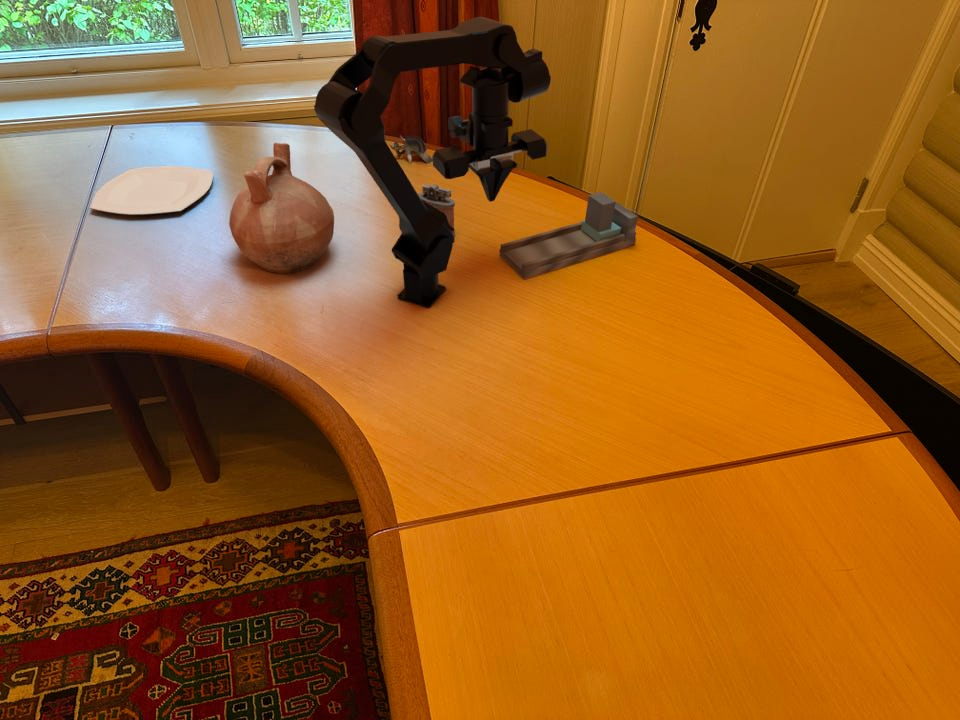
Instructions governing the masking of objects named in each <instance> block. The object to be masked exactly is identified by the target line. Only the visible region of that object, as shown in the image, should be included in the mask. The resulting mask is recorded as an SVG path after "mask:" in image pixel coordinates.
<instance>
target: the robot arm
mask: <svg viewBox="0 0 960 720" xmlns="http://www.w3.org/2000/svg"><path fill="white" fill-rule="evenodd" d="M514 29H515V28H514V26H512V25H509V24H507V23H503V22H500V21H496V20H494V19H490V18H488V17H484V16H476V17H473V18H470V19H467V20H465V21H462V22H460V23H459V24H458V25H457V26H456V27H454V28H451V29H449V30H448V29H447V30H440V31H439V30H437V31H428V32H419V33H418V32H417V33H409V34H408V33H406V34H398V35H387V36H380V35H373V36H370V37H367V39H366V40H364V42H363V43H362V44H361V46H360V48H359V49H358V51H357V52H356V53H355V54H354V55H352V56H351V57H350V58H349V59H347V61H345V62H344V63H343V64H341V65H340V66H339V67H338V68H337V69H336V70H335V71H334V73H333V74H332V75H331V77H330V79H329V80H328V82H327V83H325V84H324V85H323V86H321V88H320V89H319V90H318V92H317V95H316V96H315V101H314V102H315V104H314V106H313V107H314V112H315V115H316V116H317V118H318V120H319V121H320V122H321V123H322V124H323V125H324V126H325V127H327V129H328V130H329V131H330V132H332V134H333V135H335V136H336V137H337V138H338V139H339V140H340V141H341V142H343V143H344V144H345V145H346V146H348V147H349V149H351V151H352V152H354V154H356V156H357V157H358V159H359V160H360V162H361V164H363V166H364V168H365V169H366V171H367V172H368V174H369V175H370V177H371V178H372V179H373V181H374V182H375V184H376V185H377V186H378V188H379V190H380V191H381V193H382V194H383V196H385V197H384V198H385V199H386V201H388V203H389V204H390V206H391V207H392V210H394V212H395V213H396V214H397V216H398V219H399V220H398V221H399V222H398V227H399V230H400V232H401V234H400V235H399V237H398V239H397V240H396V241H395V243H394V245H393V246H392V248H391V253H392V254H393V256H394V258H395V259H396V260H398V261H400V262H401V263H402V264H403V270H402V276H403V277H402V279H403V287H404V288H403V289H402V290H401V291H400V292H399V293H398V294H397V295H396V296H397V299H399V300H401V301H405V302H408V303H411V304H414V305H416V306H417V305H418V306H421V307H424V308H427V309H429V308H431V307H432V305H434V304H435V302H436V301H438V300H439V298H440V297H441V296H442V295H443V294H444V293H445V291H447V287H446V286H445V285H443V284H439V274H440V273H442V272H444V271H446V270H447V269H448V264H449V261H450V257H451V254H452V250H453V247H454V243H455V242H456V241H455V237H454V235H453V233H452V231H455V230H456V229H455V227H454V228H453V227H451V226H450V224H449V222H448V219H447V217H446V215H445V214H444V213H443V212H442V211H440V210H438V209H437V208H435V207H433V206H432V205H430V204H429V203H427V202H425V201H424V200H421V199H420V197H419V195H418V194H419V193H418V192H417V191H416V188H415V187H414V185H413V184H412V182H411V181H410V180H409V178H408V176H407V175H406V173H405V171H404V169H403V167H402V166H401V164H400V163H399V161H398V160H397V158H396V156H395V154H394V153H393V151H392V150H391V147H389V145H388V144H387V143H388V142H386V136H385V134H386V133H385V124H384V123H385V122H384V121H383V118H382V114H383V113H384V111H385V110H386V109H387V107H388V106H389V104H390V101H391V97H392V93H393V89H394V85H395V82H396V79H397V78H398V76H399V75H400V74H401V73H405V72H410V71H417V70H424V69H431V68H439V67H447V66H453V65H454V66H455V65H461V64H466V65H470V66H469V68H468V69H467V71H466V72H465V73H464V74H463V75H462V76H461V77H460V78H459V83H460V84H462V85H465V86H467V87H470V88H471V94H472V96H471V97H472V105H471V106H472V111H471V112H469V115H468V118H467V119H464V120H463V117H462V115H455V116H449V117H447V119H448V121H447V124H448V127H447V128H448V133H449V136H450V137H451V138H459V140H460V142H463V141H466V145H467V146H469V147H473V149H471V150H468V151H467V150H466V151H463V152H462V151H461V149H459V148H458V147H457V146H455V145H451V146H448V147H442V148H439V149H435V150H434V152H433V154H432V155H431V158H432V159H433V160H432V161H433V162H432V166H433V168H434V169H435V170H436V171H438V173H439V174H440V175H441V176H442V177H443V178H444V179H446V180H452V179H457V178H460V177H462V178H463V177H465V176H466V175H467V174H468V172H469V171H470V170H471V171H472V172H473V173H474V175H476V176H477V177H478V178H479V181H480V183H481V186H482V188H483V191H484V194H485V197H486V198H487V201H488V202H494V201H495V200H496V198H497V197H498V194H499V193H500V191H501V189H502V187H503V185H504V183H505V181H506V180H507V178H508V177H509V175H510V174H511V173H512V171H513V170H514V169H516V168H517V167H518V163H517V162H515V161H514V154H519V153H524V152H526V155H527V157H529V158H530V159H531V160H539V159H542V158H546V157H547V155H548V142H547V140H546V139H545V138H544V137H543V136H541V135H540V134H539V133H537V132H536V131H534V130H533V129H531V128H530V129H526V130H522V131H517V132H513V133H512V134H511V135H510V141H509V130H510V129H509V128H511V127H513V124H514V123H513V121H514V120H513V119H512V118H511V117H510V102H512V103H515V104H516V103H520V102H522V101H525V100H530V99H531V98H534V97H538V96H540V95H543V94H545V93H546V92H547V91H548V90H549V88H550V85H551V80H552V77H551V74H550V70H549V67H548V65H547V63H546V62H545V61H544V59H543V51H542V50H539V49H536V48H531V49H528V50H526V51H523V49H522V48H521V46H520V44H519V42H518V40H517V39H518V38H517V34H516V31H515V30H514ZM475 66H477V67H475ZM479 67H483V68H479ZM367 80H369V84H368V86H367V87H366V89H365V90H364V92H362V91H359V90H357V89H358V88H359V87H360V86H361V85H362V84H363V83H365V82H366V81H367Z"/></svg>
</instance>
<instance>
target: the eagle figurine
mask: <svg viewBox="0 0 960 720" xmlns="http://www.w3.org/2000/svg"><path fill="white" fill-rule="evenodd" d="M399 138H400V139H401V140H402V142H403V144H402V145H400V143H399V142H397V140H395V141H394V142H393V145H392V144H389V146H390V147H389V148H390V149H392V150H394V151H395V153H396V155H397V158H398V157H400V158H401V156H402V155H403V154H404V155H406V157H407V160H408V164H409V163H410V164H411V162H412V155H416V156H417V157H419V158H420V159H422V160H423V161H424V162H425V163H427V164H430V163H431V162H432V161H433V159H432V156H430V155H429V154H428V153H427V150H428V149H427V147H426V146H427V145H426V143H425V141H424V140H422V139H421V137H419V136H418V135H417V136H416V135H407V137H405V138H403V137H402V135H399ZM400 150H401V151H400ZM432 163H433V162H432Z"/></svg>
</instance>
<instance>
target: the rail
mask: <svg viewBox="0 0 960 720" xmlns="http://www.w3.org/2000/svg"><path fill="white" fill-rule="evenodd" d="M608 197H609V196H608ZM609 198H611V197H609ZM611 199H612V198H611ZM612 200H614V199H612ZM638 219H639V215H637V214H636V213H634V212H633V211H631V210H629V209H628V208H626V207H625V206H623V205H622V204H620V203H619V202H617V201H616V203H615V209H614V214H613V219H612V222H613V223H615V224H616V225H618V226H619V227H621V233H620V235H617V236H614V237H610V238H607V239H604V240H600V241H596V240H594V239H593V238H592V237H590V236H589V235H588V234H586V233H585V232H584V231H582V230H581V226H582V221H580V222H576V223H572V224H569V225H566V226H563V227H559V228H554V229H551V230H547V231H544V232H540V233H536V234H533V235H530V236H526V237H523V238H519V239H515V240H512V241H507V242H505V243H502V244H500V248H499V253H498V255H499V257H500V258H501V259H502V260H503V261H504V262H505V263H506V264H507V265H508V266H509V267H510V268H512V270H514V271H515V272H516V273H517V274H518V275H519V276H520V277H522V279H524V280H527V279H530V278H534V277H537V276H540V275H543V273H544V274H546V273H549V272H553V271H556V270H559V269H563V268H566V267H568V266H572V265H575V264H578V263H579V264H580V263H583V262H586V261H588V260H591V259H594V258H598V257H602V256H604V255H607V254H610V253H614V252H617V251H621V250H623V249H626V248H629V247H633V246H635V245H636V241H637V237H636V236H637V232H636V228H637V223H638ZM533 276H534V277H533Z"/></svg>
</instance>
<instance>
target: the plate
mask: <svg viewBox="0 0 960 720" xmlns="http://www.w3.org/2000/svg"><path fill="white" fill-rule="evenodd" d="M213 178H214V171H213V170H209V169H203V168H197V167H191V166H180V165H179V166H178V165H164V166H163V165H161V166H149V167H148V166H146V167H136V168H130V169H128V170H127V171H125V172H122V173H121V174H119V175H117V176H116V177H113V178H112V179H110V180H108V181H107V182H106V183H105V184H103V185H102V186H101V187H100V188H99V189H98V190H97V191H96V193H95V195H94V196H93V199H92V201H91V203H90V206H89V209H90V210H94V211H99V212H105V213H109V214H116V215H126V216H127V215H128V216H147V215H161V214H162V215H163V214H173V213H180V212H183V211H184V210H186V209H187V208H188V207H190V206H191V205H193V204H194V203H196V202H197V201H199V200H200V199H202V198H203V197H204V196H205V195H206V194H207V193H208V192H209V190H210V188H211V187H212V183H213Z"/></svg>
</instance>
